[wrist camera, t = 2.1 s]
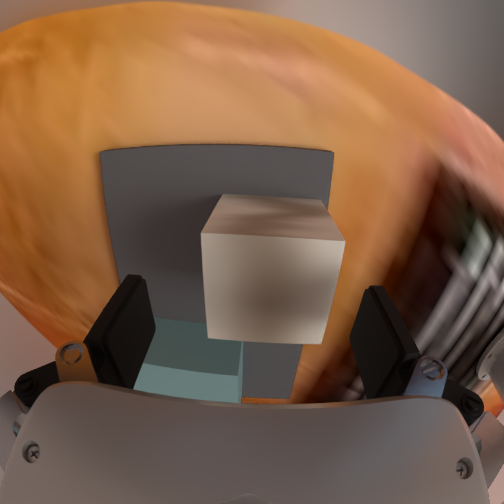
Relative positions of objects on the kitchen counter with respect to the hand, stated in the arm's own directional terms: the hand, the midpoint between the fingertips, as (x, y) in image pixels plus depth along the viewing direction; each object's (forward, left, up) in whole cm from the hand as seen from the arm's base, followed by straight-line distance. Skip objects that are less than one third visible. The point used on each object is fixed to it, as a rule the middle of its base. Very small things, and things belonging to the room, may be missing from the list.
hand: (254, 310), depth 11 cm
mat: (+3, +6, -8) cm, 11 cm away
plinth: (+5, +12, -7) cm, 15 cm away
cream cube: (-1, 0, -7) cm, 7 cm away
